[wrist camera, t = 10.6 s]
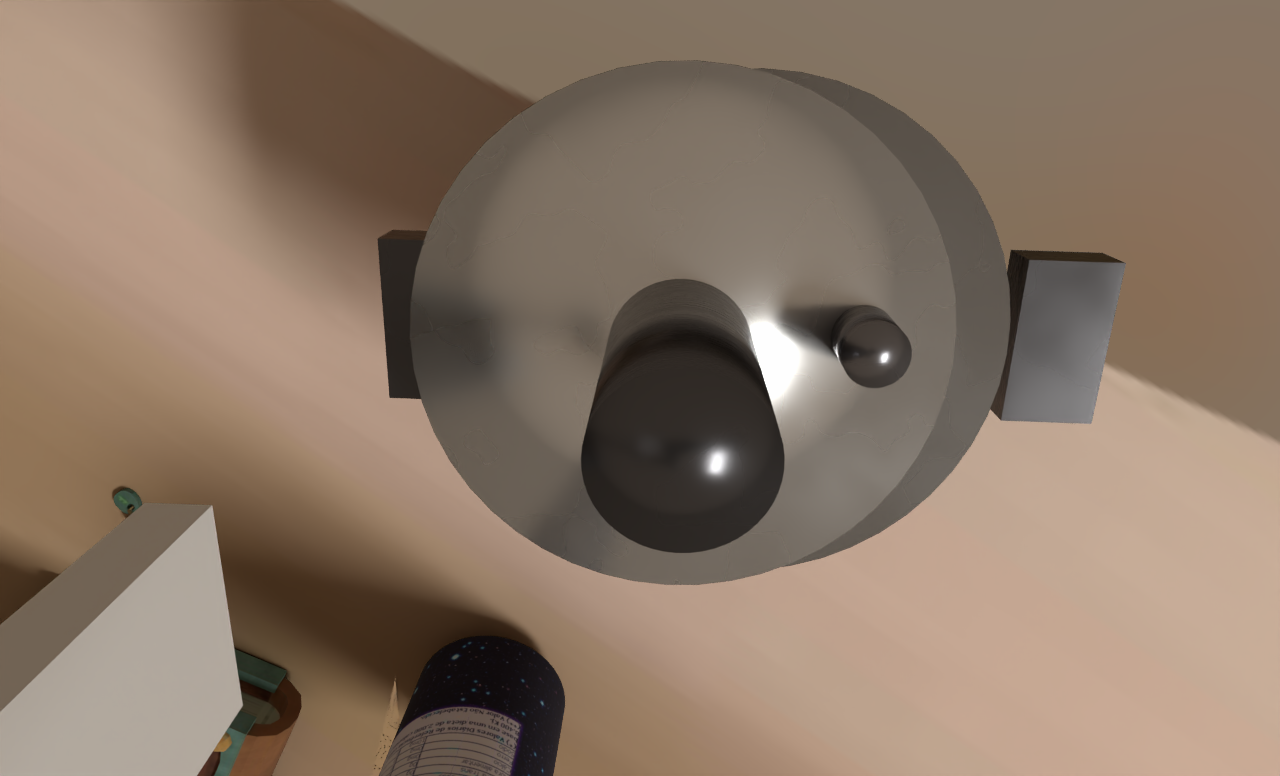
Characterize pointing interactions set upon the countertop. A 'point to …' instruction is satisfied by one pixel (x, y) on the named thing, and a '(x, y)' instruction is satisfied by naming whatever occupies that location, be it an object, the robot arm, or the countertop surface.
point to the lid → (683, 322)
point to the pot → (985, 313)
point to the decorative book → (248, 707)
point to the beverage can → (481, 713)
